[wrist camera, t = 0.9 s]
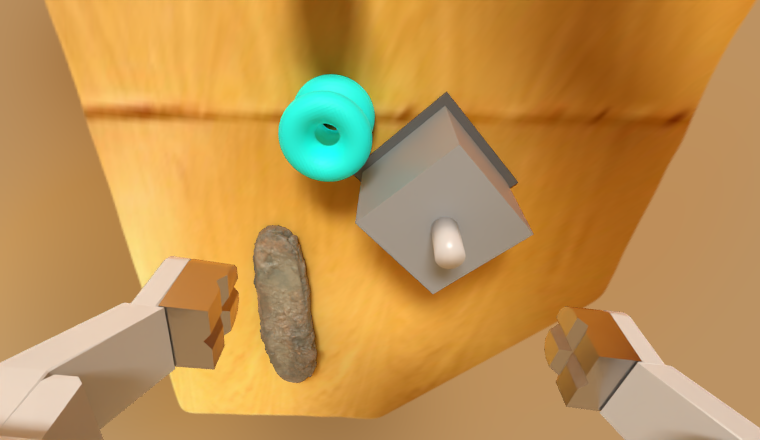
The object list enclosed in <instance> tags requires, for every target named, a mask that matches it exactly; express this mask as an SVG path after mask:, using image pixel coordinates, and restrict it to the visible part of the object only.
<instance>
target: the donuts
mask: <svg viewBox="0 0 760 440" xmlns="http://www.w3.org/2000/svg"><path fill="white" fill-rule="evenodd" d="M374 122H375V112H374V107H373V104H372V101H371V99H370V97H369V95H368V94H367V92H366V91H365V90H364V89H363V88H362V87H361V86H360V85H359V84H358V83H357V82H355V81H354V80H352V79H350V78H348V77H345V76H342V75H337V74H326V75H321V76H318V77H315V78H313V79H311V80H310V81H308V82H307V83H306V84H305V85H304V86H303V87H302V88H301V89H300V90H299V92H298V93H297V95H296V97H295V100H294V101H293V102H291V103H290V105H289V106H288V107H287V108H286V110H285V111H284V113H283V115H282V117H281V120H280V123H279V132H278V134H279V143H280V147H281V150H282V152H283V154H284V156H285V158H286V159H287V161H288V162H289V163H290V164H291V165H292V166H293V167H294V168H295V169H296V170H297V171H298V172H300V173H301V174H303V175H305V176H306V177H309V178H311V179H314V180H318V181H324V182H333V181H339V180H343V179H346V178H348V177H350V176H352V175H353V174H355V173H356V172H357V171H359V170H360V169H361V168H362V166H363V165H364V164H365V162H366V161H367V159H368V157H369V155H370V152H371V148H372V131H373V128H374ZM323 124H330V125H332V126H334V127H335V128H336V129H337V130H331V129H328V128H327V127H325V126H324V125H323Z"/></svg>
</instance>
